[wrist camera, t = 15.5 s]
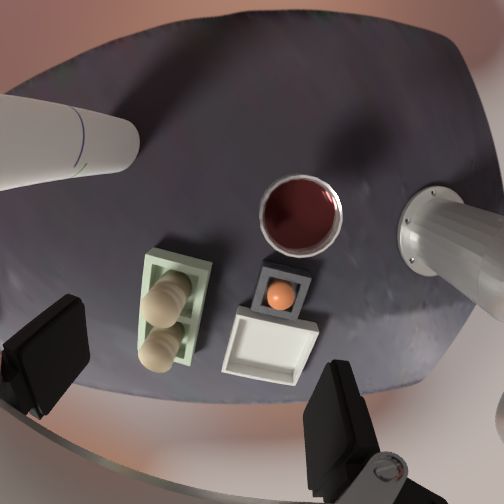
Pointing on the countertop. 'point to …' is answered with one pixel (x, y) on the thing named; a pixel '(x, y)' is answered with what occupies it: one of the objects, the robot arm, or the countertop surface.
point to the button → (280, 294)
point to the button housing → (275, 270)
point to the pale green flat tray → (192, 311)
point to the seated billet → (166, 299)
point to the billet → (161, 347)
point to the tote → (268, 347)
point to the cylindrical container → (60, 142)
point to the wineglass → (300, 215)
